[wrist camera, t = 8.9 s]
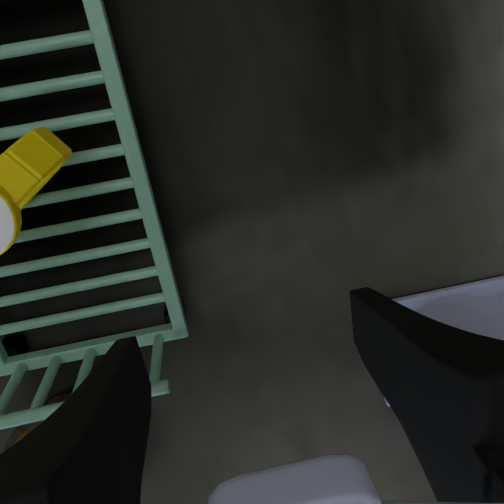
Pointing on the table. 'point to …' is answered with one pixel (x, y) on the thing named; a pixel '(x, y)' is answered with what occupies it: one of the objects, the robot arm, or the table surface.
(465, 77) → the table surface
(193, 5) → the table surface
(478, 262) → the table surface
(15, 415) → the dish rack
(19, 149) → the watch
